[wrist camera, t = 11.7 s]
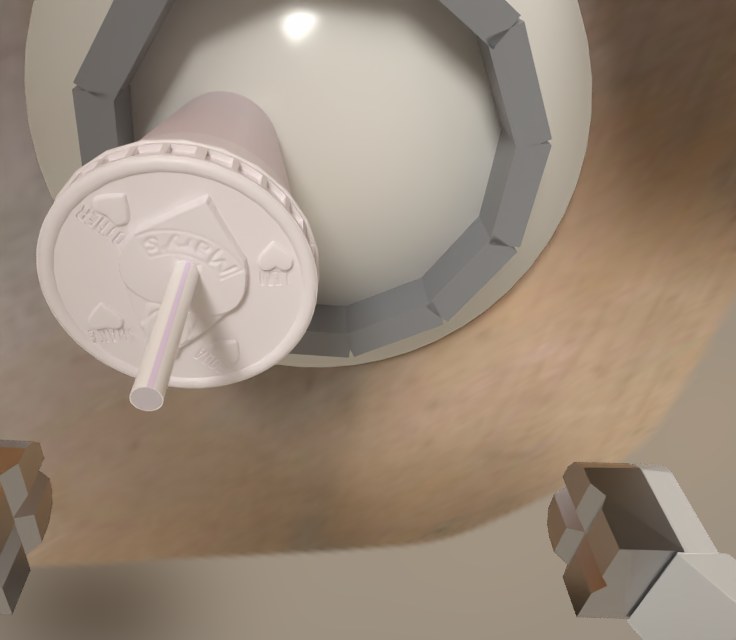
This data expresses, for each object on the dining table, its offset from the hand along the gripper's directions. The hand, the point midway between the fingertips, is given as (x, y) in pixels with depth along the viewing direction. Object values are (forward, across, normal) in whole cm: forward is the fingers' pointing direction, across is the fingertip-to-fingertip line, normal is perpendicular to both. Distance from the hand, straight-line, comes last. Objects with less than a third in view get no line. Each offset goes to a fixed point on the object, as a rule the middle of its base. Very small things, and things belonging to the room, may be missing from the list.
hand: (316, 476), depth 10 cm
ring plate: (+16, 0, +1) cm, 16 cm away
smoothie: (+16, +3, +1) cm, 16 cm away
